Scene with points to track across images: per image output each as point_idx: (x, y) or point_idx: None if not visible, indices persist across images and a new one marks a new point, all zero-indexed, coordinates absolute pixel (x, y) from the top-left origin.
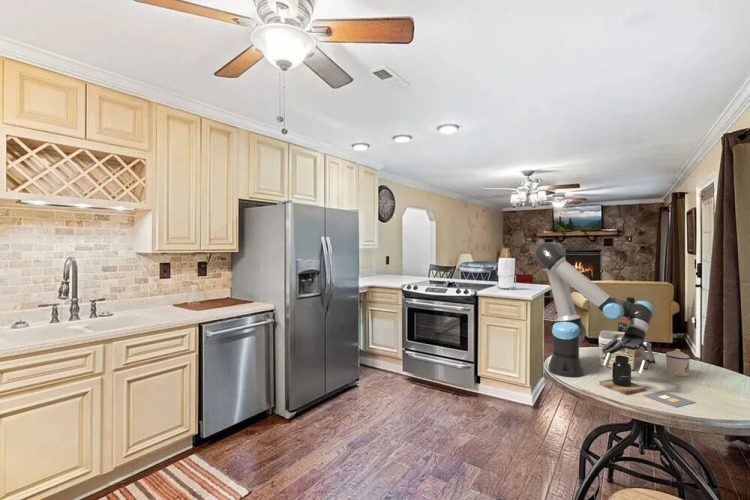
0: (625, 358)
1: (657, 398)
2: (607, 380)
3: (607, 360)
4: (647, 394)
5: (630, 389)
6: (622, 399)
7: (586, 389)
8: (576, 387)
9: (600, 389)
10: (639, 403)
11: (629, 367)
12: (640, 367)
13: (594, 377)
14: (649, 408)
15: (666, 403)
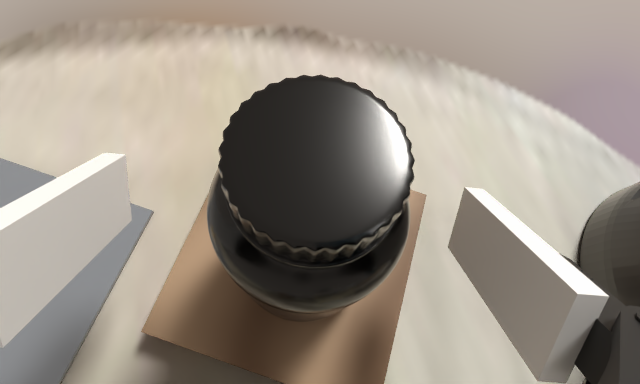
0: (251, 103)
1: None
2: (402, 261)
3: (494, 232)
4: (130, 244)
5: None
6: (241, 71)
7: (425, 80)
8: (471, 73)
9: None
10: (158, 75)
11: (216, 171)
12: (80, 179)
13: None
14: (107, 46)
15: (16, 166)
